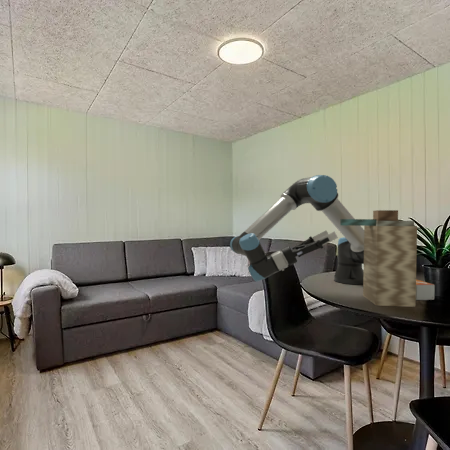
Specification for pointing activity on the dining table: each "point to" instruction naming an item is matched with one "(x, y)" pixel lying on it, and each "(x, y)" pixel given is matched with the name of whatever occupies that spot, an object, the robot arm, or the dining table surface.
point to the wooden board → (390, 263)
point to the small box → (424, 290)
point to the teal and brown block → (377, 216)
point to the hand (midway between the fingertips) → (331, 233)
